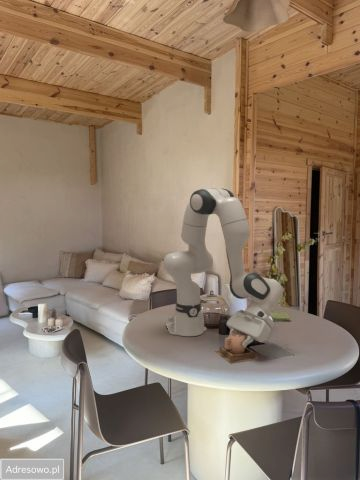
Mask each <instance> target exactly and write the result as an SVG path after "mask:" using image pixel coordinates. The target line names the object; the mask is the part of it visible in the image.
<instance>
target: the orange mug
mask: <svg viewBox="0 0 360 480" xmlns="http://www.w3.org/2000/svg"><path fill="white" fill-rule="evenodd" d="M229 335H230V338H228V337H225V338H224V347H225V349H230V353H231V354H233V355H237V354H243V353H245V347H243V346H241V343H242V341H245V340H246V336H245V334H243V333H238V332H235V333H231V334H230V333H229Z"/></svg>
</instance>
